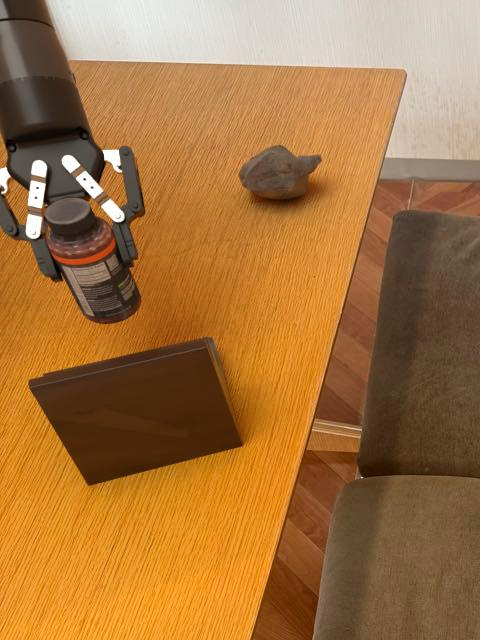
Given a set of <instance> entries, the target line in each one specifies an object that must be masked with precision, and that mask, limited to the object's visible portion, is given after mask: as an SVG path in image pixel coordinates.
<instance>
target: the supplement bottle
mask: <svg viewBox="0 0 480 640" xmlns="http://www.w3.org/2000/svg"><path fill="white" fill-rule="evenodd" d="M90 204H91V203H89V201H85V200H83V199H80V198H65V199H62V200H58V201H56V202H54V203H52V204H51V205H50V206H49V207H48V208H47V209H46V211H45V217H46V220H47V222H48V224H49V226H48V228H49V229H48V233H47V245H48V248H49V250H50V252H51V254H52V256H53V258H54V260H55V262H56V264H57V266H58V268H59V269H60V272H61V274H62V277H63V281H64V282H65V284H66V285H67V287H68V289H69V291H70V293H71V295H72V297H73V299H74V300H75V302H76V304H77V307H78V309H79V310H80V311H81V314H82V315H83V316H84V318H85V319H87V320H88V321H90V322H93V323H95V324H99V325H111V324H117V323H121V322H124V321H126V320H128V319H129V318H131V317H133V315H135V313H137V312H138V310H139V309H140V308H141V305H142V294H141V292H140V290H139V287H138V285H137V283H136V280H135V278H134V276H133V275H134V274H133V273H132V271H131V269H130V268H127V267H126V266H125V265H124V263H123V260H122V257H121V254H120V251H119V248H118V245H117V242H116V239H115V236H114V233H113V230H112V227H111V224H110V223H108V221H106V220H105V218H102V217H100V216H97V215H96V214H95V212H94V211H93V208H92V207H91V205H90Z"/></svg>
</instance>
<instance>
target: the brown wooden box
mask: <svg viewBox="0 0 480 640" xmlns="http://www.w3.org/2000/svg"><path fill="white" fill-rule="evenodd" d="M225 376H226V375H225V372H224V369H223V364H222V362H221V358H220V355H219V351H218V349H217V346H216V343H215V341H214V337H213V336H204V337H199V338H195V339H191V340H187V341H182V342H177V343H173V344H169V345H164V346H159V347H156V348H155V347H154V348H151V349H147V350H142V351H138V352H134V353H129V354H125V355H121V356H116V357H111V358H107V359H102V360H98V361H93V362H89V363H85V364H80V365H77V366H71V367H66V368H62V369H58V370H53V371H49V372H44V373H43V374H42V376H38V377H34V378H29V379H28V381H27V382H28V389H29V391H30V392H31V394H32V396H33V398H34V399H35V401H36V402H37V404H38V405H39V407H40V409H41V410H42V412H43V414H44V415H45V417H46V418H47V420H48V422H49V424H50V425H51V427H52V428H53V430H54V432H55V434H56V435H57V437H58V439H59V441H60V442H61V443H62V445H63V447H64V449H65V450H66V452H67V453H68V455H69V456H70V458H71V460H72V462H73V464H74V465H75V466H76V468H77V470H78V471H79V473H80V475H81V476H82V478H83V480H84V481H85V484H86V485H87V486H92V485H96V484H100V483H104V482H108V481H111V480H115V479H119V478H123V477H127V476H130V475H131V476H132V475H136V474H139V473H142V472H147V471H151V470H154V469H158V468H162V467H166V466H170V465H174V464H178V463H182V462H186V461H190V460H193V459H197V458H201V457H205V456H209V455H213V454H217V453H220V452H224V451H228V450H232V449H237V448H240V447H243V446H244V444H243V443H244V442H243V440H242V436H241V432H240V428H239V424H238V421H237V417H236V414H235V410H234V407H233V402H232V398H231V395H230V391H229V388H228V384H227V380H226V377H225Z"/></svg>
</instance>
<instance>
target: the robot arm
mask: <svg viewBox="0 0 480 640" xmlns="http://www.w3.org/2000/svg"><path fill="white" fill-rule="evenodd" d="M0 135H1V139H2V142H3V144H4V148H5V150H6V163H5V167H2V168H0V228H1V230H2V232H3V233H4V234H5V235H6V236H7V237H10V238H11V239H12V240H14V241H18V242H20V241H22V242H28V243H29V244H30V246H31V249H32V252H33V255H34V257H35V260H36V263H37V266H38V270H39V271H40V273H42V275H43V276H44V277H46V278H50V280H51V281H52V282H53V283H55V284H56V283H62V282H64V277H63V275H62V274H61V272H60V269H59V268H58V266H57V264H56V262H55V260H54V258H53V256H52V254H51V252H50V250H49V248H48V245H47V235H48V232H49V224H48V222H47V220H46V217H45V211H46V209H47V208H48V207H49V206H50V205H51V204H52V203H54V202H56V201H58V200H62V199H65V198H80V199H83V200H85V201H87V202H90V200H91V199H92V200H93V201H94V202H95V203H96V204H97V205H98V206H99V207H100V208H101V209H102V210H103V211H104V213H105V214H106V215H107V216H108V217H109V218H110V219H111V221H112V225H111V224H110V226H111V228H112V230H113V233H114V236H115V239H116V242H117V245H118V248H119V251H120V254H121V257H122V260H123V263H124V265H125V266H126V267H127V268H129V269H130V268H135V266H136V265H135V262H134V261H137V260H139V252H138V248H137V245H136V243H135V239H134V235H133V233H132V229H131V224H132V223H133V222H134V221H135V220H137V219H138V218H143V217H144V216H145V215H146V213H147V211H146V205H145V199H144V194H143V189H142V183H141V178H140V177H141V176H140V171H139V165H138V160H137V156H136V155H135V152H134V151H133V150H132V148H131V147H130V146H128V145H122V146H120V147H119V149H102V148H101V147H100V145H98V144H97V142H96V141H95V138H94V135H93V132H92V129H91V126H90V123H89V120H88V117H87V114H86V111H85V107H84V105H83V101H82V99H81V96H80V93H79V89H78V86H77V79H76V77H75V74H74V72H73V71H72V68H71V65H70V61H69V59H68V57H67V54H66V52H65V50H64V47H63V46H62V44H61V42H60V39H59V37H58V35H57V32H56V28H55V25H54V22H53V19H52V16H51V13H50V10H49V7H48V5H47V1H46V0H0ZM107 164H110V165H111V166H112V168H113V169H114V171H115V172H116V174H117V175H119V176H122V179H123V184H124V191H125V195H126V202H127V203H125V204H123V205H122V206H120V207H119V206H118V204H116V202H115V201H114V200H113V199H112V198H111V197H110V195H108V193H107V192H106V191H105V190H104V189H103V187H101V186H100V183H101V179H102V177H103V174H104V171H105V168H106V165H107ZM13 180H14V181H15V182H17V183H18V185H20V186H22V187H23V188H24V189H25V190H27V191H28V197H27V198H28V200H27V216H26V217H27V218H26V224H20V222H19V220H18V218H17V217H16V214H15V212H14V211H13V208H12V206H11V204H10V202H9V201H8V198H7V197H8V196H10V194H11V187H10V184H11V182H12V181H13Z"/></svg>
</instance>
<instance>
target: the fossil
mask: <svg viewBox="0 0 480 640" xmlns="http://www.w3.org/2000/svg"><path fill="white" fill-rule="evenodd" d="M322 162H323V159H322V155H321V154H319V153H317V154H312V155H303V154H301V155H297V156H296V155H294V153H293V152H291V151H290V150H289V149H288V148H287V147H285V146H284V145H282V144H277V145H271V146H269V147H267V148H265V149H264V150H262V151H260V152H259V153H257V154H256V155H254V156H253V157H250V158H249V161H247V162H244V163H243V164H242V166H241V168H240V170H239V172H238V178H239V180H240V183H241V186H242V187H243V188H244V189H247V190H249V191H250V193H252V194H255V195H257V196H260V197H262V198H266V199H271V200H294V199H296V198H299V197H303V196H304V195H305V194H306V192H307V187H308V181H309V176H310V175H311V174H312V173H314V172H315V171H316V169H317V168H318V166H319V165H320V164H321V163H322Z"/></svg>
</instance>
